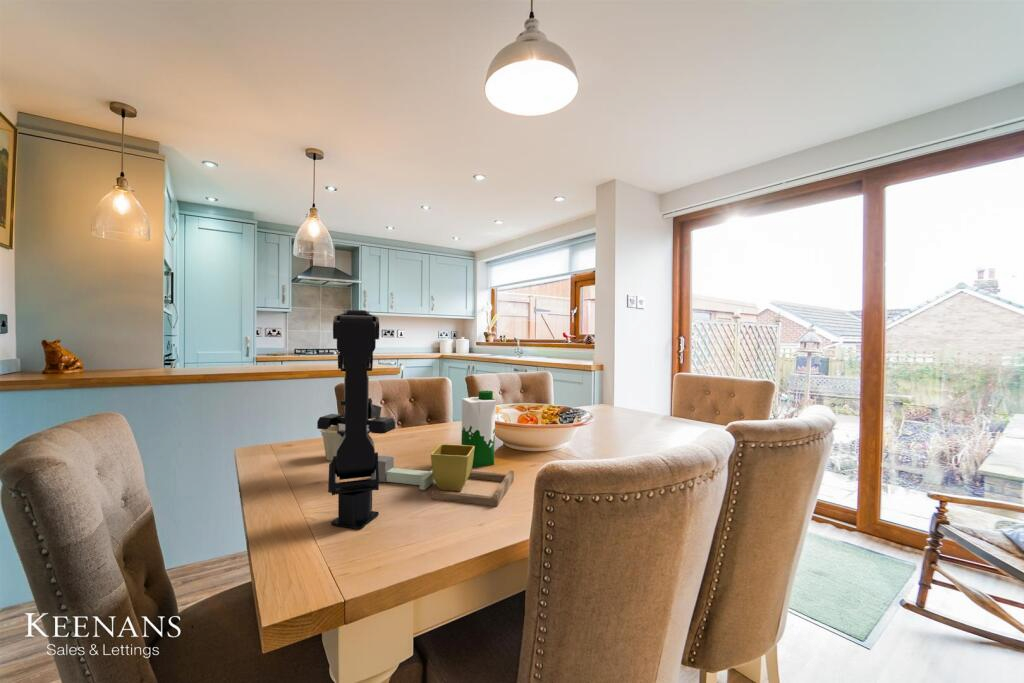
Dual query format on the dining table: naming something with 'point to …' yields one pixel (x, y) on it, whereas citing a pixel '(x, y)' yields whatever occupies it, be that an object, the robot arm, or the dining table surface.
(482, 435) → the milk carton
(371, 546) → the dining table surface
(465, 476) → the flower pot
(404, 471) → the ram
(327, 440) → the flower pot
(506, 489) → the bay
